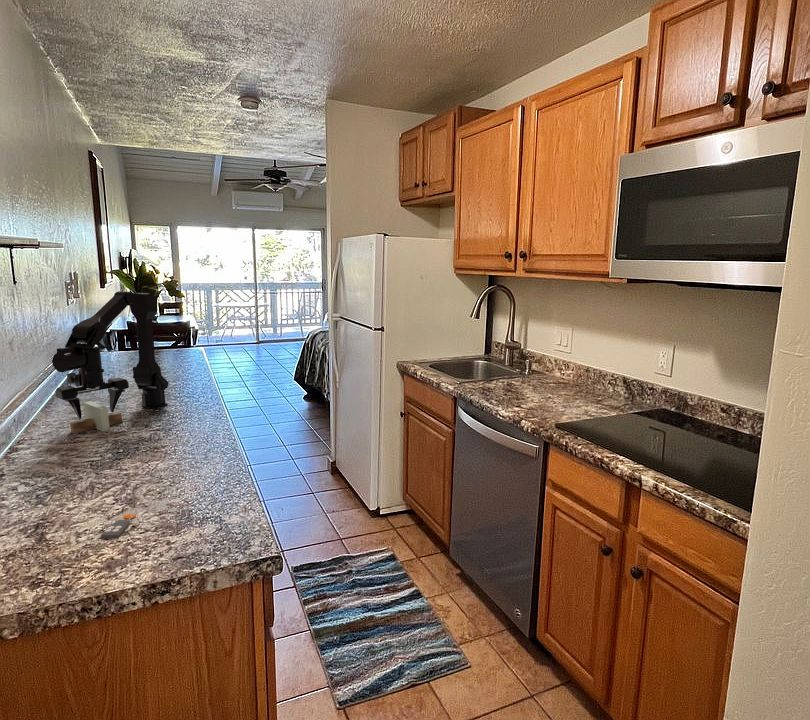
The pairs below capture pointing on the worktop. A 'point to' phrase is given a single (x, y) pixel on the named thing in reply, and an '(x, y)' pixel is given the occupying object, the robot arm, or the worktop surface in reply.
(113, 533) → the key chain
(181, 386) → the worktop surface
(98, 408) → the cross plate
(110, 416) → the walnut rail
